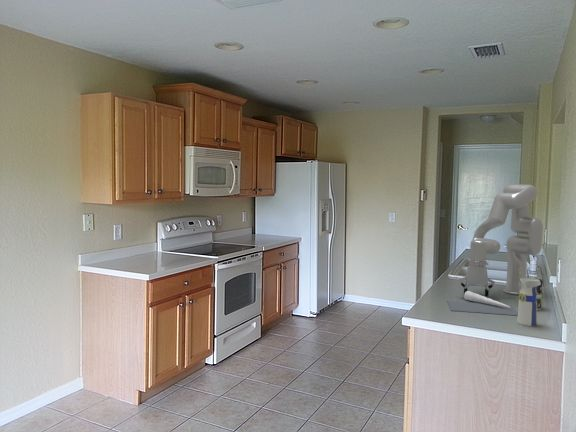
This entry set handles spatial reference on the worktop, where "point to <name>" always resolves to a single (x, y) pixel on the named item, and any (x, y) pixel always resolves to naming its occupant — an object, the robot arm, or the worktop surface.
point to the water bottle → (527, 301)
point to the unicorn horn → (482, 299)
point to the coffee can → (538, 290)
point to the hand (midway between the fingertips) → (475, 296)
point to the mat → (481, 308)
